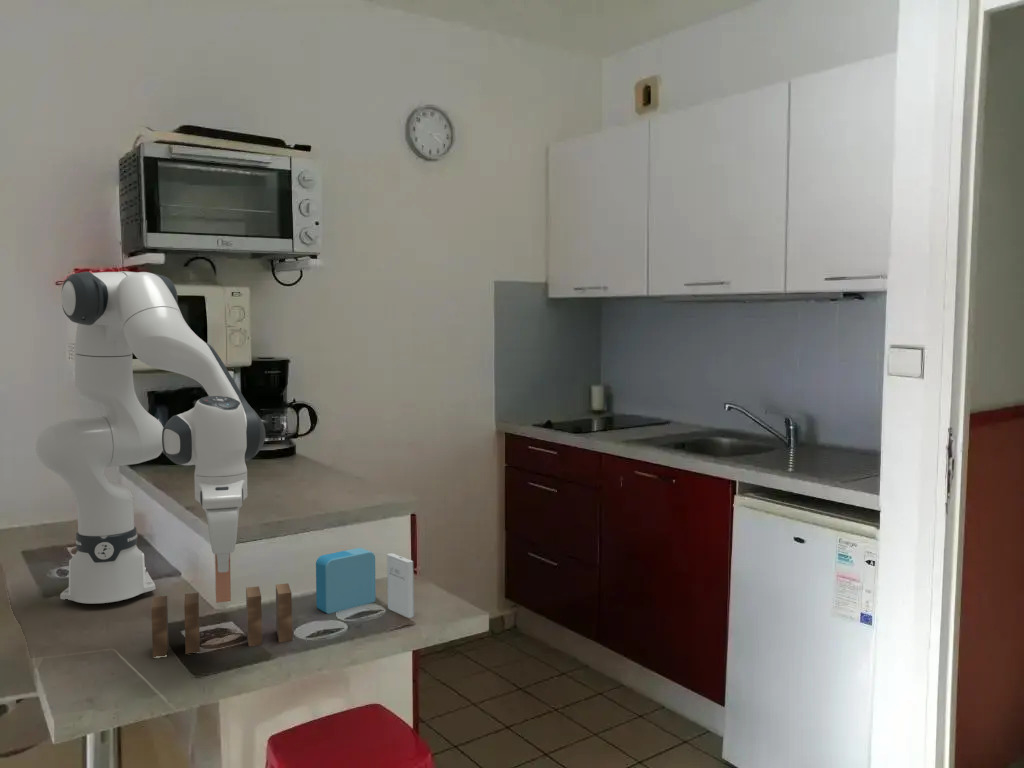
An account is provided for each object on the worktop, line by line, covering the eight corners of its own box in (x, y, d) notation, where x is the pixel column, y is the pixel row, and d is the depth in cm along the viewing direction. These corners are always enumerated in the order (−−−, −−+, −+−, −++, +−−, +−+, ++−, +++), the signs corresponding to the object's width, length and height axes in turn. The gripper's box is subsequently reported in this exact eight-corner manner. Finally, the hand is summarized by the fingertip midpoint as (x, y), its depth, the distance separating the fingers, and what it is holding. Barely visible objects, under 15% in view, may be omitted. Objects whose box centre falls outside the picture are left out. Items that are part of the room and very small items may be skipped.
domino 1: (152, 661, 150) (151, 607, 149) (154, 649, 156) (153, 597, 155) (167, 659, 151) (166, 605, 150) (168, 647, 156) (167, 595, 156)
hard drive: (393, 609, 178) (392, 552, 177) (415, 620, 171) (414, 560, 171) (386, 611, 176) (386, 554, 176) (408, 622, 170) (408, 562, 169)
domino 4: (248, 649, 156) (247, 597, 155) (247, 638, 161) (246, 587, 161) (262, 647, 157) (261, 595, 156) (260, 636, 162) (259, 586, 161)
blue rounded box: (365, 599, 184) (364, 546, 183) (376, 604, 181) (375, 550, 180) (316, 612, 176) (315, 556, 175) (326, 617, 173) (325, 560, 172)
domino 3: (216, 602, 146) (215, 546, 145) (215, 591, 151) (214, 537, 150) (230, 601, 146) (229, 545, 146) (229, 590, 152) (228, 536, 151)
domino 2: (185, 657, 152) (184, 603, 151) (186, 645, 158) (184, 593, 157) (199, 655, 153) (198, 602, 152) (199, 644, 158) (198, 592, 158)
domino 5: (279, 645, 158) (278, 593, 157) (276, 634, 163) (275, 584, 163) (292, 644, 159) (291, 592, 158) (289, 633, 164) (288, 583, 163)
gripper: (202, 478, 156) (203, 551, 157) (202, 501, 137) (203, 584, 138) (237, 477, 158) (238, 548, 159) (242, 499, 139) (243, 580, 140)
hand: (222, 565), depth 148 cm, fingers closed on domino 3, 6 cm apart
